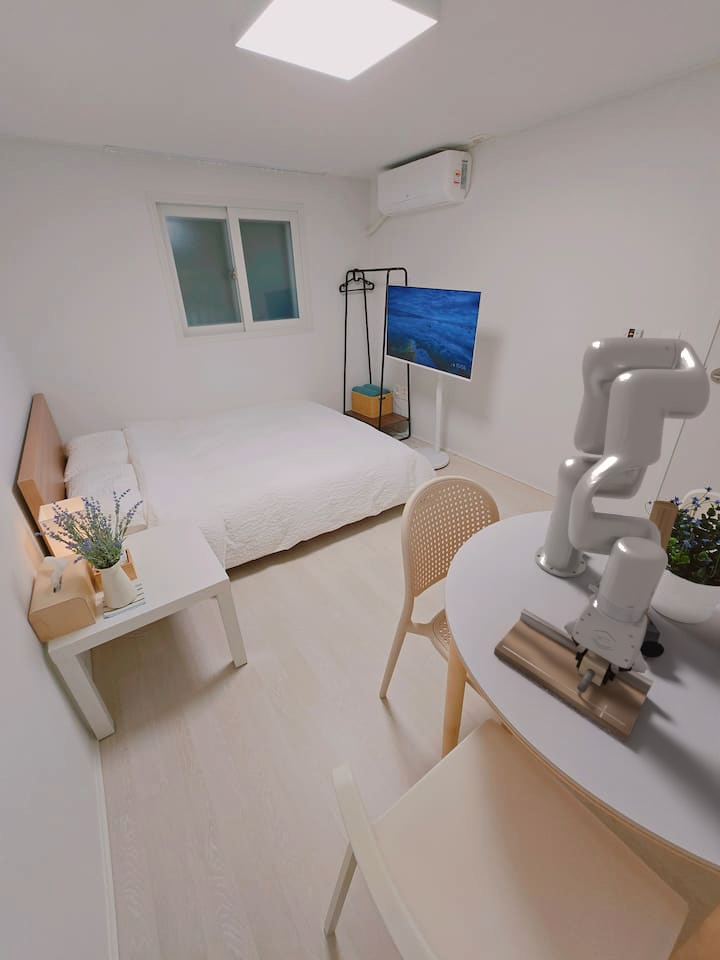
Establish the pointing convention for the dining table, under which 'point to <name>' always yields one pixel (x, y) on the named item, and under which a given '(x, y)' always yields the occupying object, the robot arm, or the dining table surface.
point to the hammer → (664, 520)
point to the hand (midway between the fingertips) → (593, 670)
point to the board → (572, 674)
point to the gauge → (592, 670)
